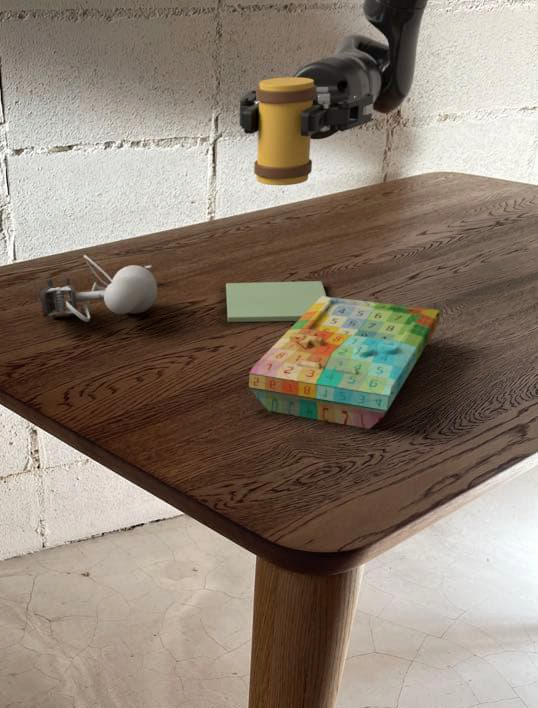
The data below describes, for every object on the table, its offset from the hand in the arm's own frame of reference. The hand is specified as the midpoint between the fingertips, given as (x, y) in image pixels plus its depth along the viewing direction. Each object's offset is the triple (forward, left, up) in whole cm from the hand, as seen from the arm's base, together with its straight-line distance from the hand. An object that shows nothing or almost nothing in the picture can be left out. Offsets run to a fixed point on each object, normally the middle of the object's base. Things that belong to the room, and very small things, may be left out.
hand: (276, 123), depth 84 cm
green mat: (-1, -3, -19) cm, 19 cm away
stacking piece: (-1, -2, -6) cm, 6 cm away
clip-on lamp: (+18, -2, -19) cm, 26 cm away
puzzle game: (-6, +18, -19) cm, 27 cm away
